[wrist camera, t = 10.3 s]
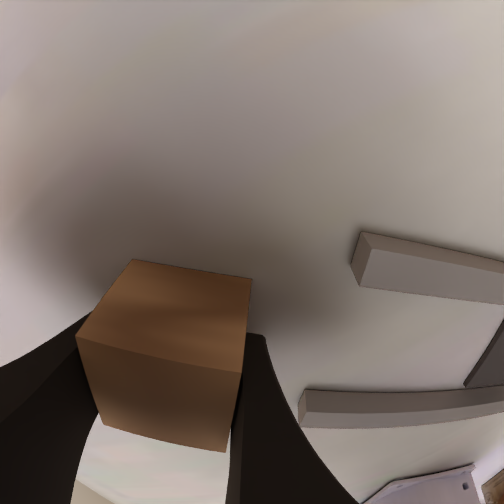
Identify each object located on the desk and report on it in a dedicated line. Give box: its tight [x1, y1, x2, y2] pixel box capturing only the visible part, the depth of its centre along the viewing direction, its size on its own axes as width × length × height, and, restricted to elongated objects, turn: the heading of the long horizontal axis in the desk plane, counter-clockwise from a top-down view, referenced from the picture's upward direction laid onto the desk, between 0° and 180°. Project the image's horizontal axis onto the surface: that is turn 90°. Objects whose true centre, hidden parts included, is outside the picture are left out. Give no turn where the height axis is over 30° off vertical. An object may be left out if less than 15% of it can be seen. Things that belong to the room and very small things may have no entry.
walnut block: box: [75, 259, 252, 453], centre depth 9 cm, size 4×4×4 cm
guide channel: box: [298, 232, 504, 429], centre depth 11 cm, size 15×8×1 cm, turn 81°
